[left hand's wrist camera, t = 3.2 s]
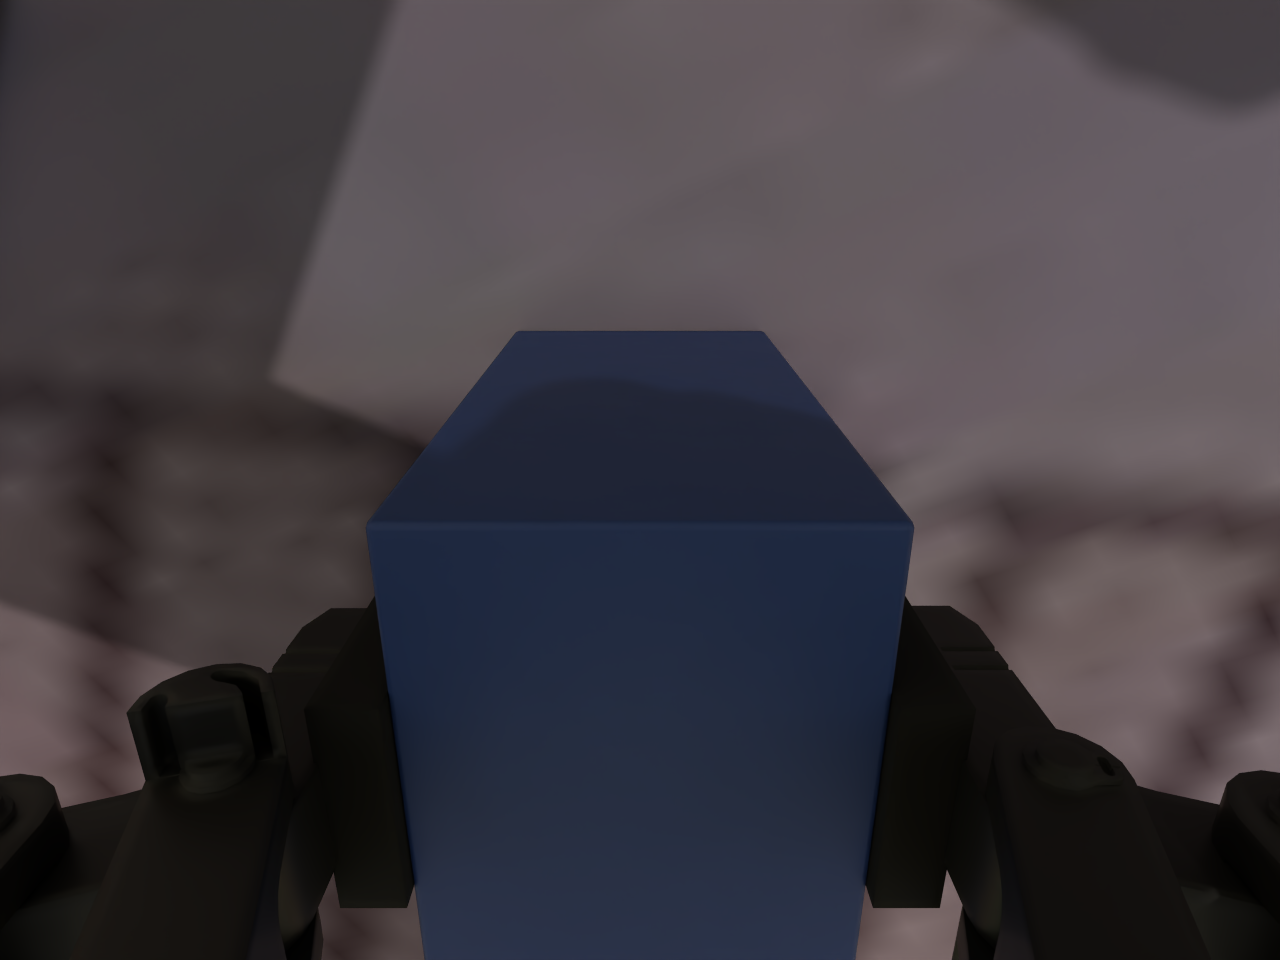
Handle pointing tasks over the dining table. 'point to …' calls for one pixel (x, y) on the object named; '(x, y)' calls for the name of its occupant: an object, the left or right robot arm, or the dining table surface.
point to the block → (640, 655)
